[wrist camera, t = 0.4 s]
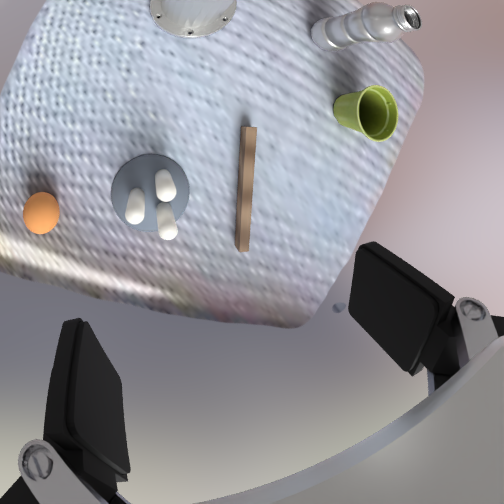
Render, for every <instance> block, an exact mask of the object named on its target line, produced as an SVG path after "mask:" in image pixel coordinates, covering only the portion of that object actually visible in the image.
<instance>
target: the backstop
mask: <svg viewBox="0 0 504 504" xmlns="http://www.w3.org/2000/svg"><path fill="white" fill-rule="evenodd" d="M256 134H257V127H245V126H241V137H240V154H239V172H238V192H237V213H236V235H235V246H236V248H237V249H238V251H239V252H247V251H249V239H250V224H251V208H252V193H253V179H254V164H255V149H256Z"/></svg>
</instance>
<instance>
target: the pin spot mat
mask: <svg viewBox="0 0 504 504" xmlns="http://www.w3.org/2000/svg"><path fill="white" fill-rule="evenodd" d="M161 169H166V170H168V171H169V172H170V174H171V177H172V180H173V182H174V185H175V187H176V195H175V197H174V198H173V199H172V200H171V201H168V203H169V204H170V205H171V207H172V211H173V215H174V218H175V222H176V221H177V220H178V219H179V218H180V216H181V215H182V214H183V212H184V211H185V208H186V206H187V203H188V200H189V184H188V180H187V177H186V175H185V173H184V172H183V170H182V169H181V167H180V166H179V165H178V164H176V163H175V162H174V161H172V160H171V159H169V158H167V157H164V156H161V155H154V154H153V155H143V156H139V157H137V158H134V159H133V160H131V161H129V162H128V163H127V164H125V165H124V166H123V167H122V168H121V169H120V171H119V172H118V174H117V175H116V177H115V179H114V182H113V186H112V191H111V199H112V204H113V207H114V210H115V212H116V214H117V215H118V217H119V218H120V219H121V220H122V221H123V222H124V223H125V224H126V225H128V226H129V227H131V228H133V229H136V230H139V231H145V232H153V231H158V222H157V213H156V207H157V205H158V204H159V203H161V202H164V201H161V200H160V199H159V198H158V197H157V194H156V184H155V174H156V173H157V171H159V170H161ZM134 188H141V189H142V190H143V191H144V193H145V212H144V219H143V220H142V222H140V223H139V224H131V223H129V222H128V221H127V220H126V217H125V212H126V208H127V203H128V199H129V194H130V192H131V190H132V189H134Z"/></svg>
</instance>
